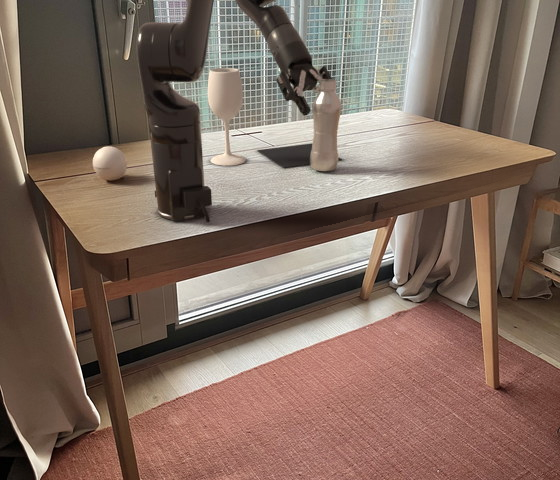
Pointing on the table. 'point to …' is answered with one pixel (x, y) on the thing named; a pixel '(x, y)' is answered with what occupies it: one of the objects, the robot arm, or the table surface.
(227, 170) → the table surface
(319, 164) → the plastic bottle
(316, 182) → the table surface
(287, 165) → the felt mat
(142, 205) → the table surface
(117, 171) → the white sphere
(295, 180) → the table surface
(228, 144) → the wineglass
